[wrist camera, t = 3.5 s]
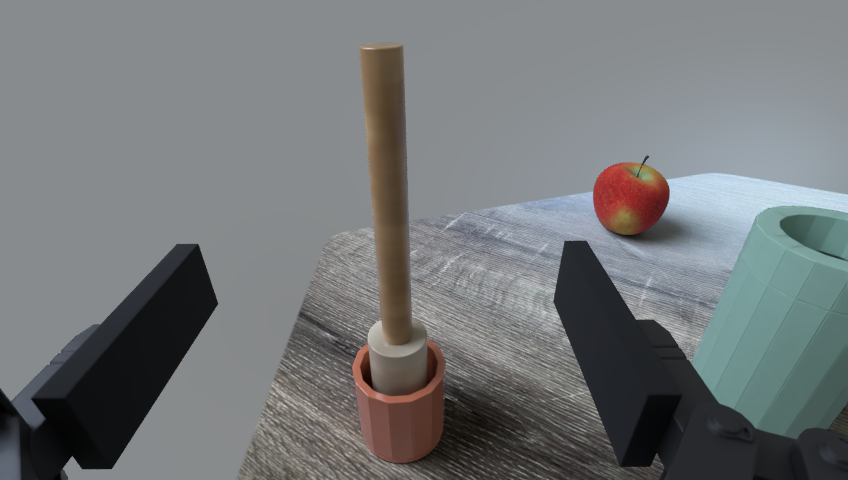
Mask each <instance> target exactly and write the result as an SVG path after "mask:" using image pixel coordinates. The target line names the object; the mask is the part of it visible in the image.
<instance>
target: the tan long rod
mask: <svg viewBox="0 0 848 480" xmlns="http://www.w3.org/2000/svg"><path fill="white" fill-rule="evenodd" d="M359 51H360V64H361V76H362V88H363V101H364V113H365V126H366V138H367V150H368V162H369V174H370V186H371V200H372V212H373V223H374V237H375V249H376V261H377V274H378V286H379V298H380V311H381V320H380V321H378V322H377V323H375V324H374V325H373V326H372V328H371V329H370V331H369V333H368V348H369V357H370V366H371V376H372V385H373V391H376V392H379V393H382V394H385V395H388V396H404V395H411V394H413V393H415V392H417V391H419V390H421V389H424V388H426V387H427V385H428V361H427V331H426V329H425V327H424V325H423V324H422V323H421V322H419V321H418V320H416V319H414V318H412V306H411V274H410V243H409V214H408V213H409V212H408V181H407V151H406V150H407V149H406V119H405V88H404V56H403V45H402V44H399V43H368V44H363V45H360V47H359Z"/></svg>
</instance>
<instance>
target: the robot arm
mask: <svg viewBox="0 0 848 480" xmlns="http://www.w3.org/2000/svg"><path fill="white" fill-rule="evenodd" d="M553 302H554V304H555V307H556V309H557V311H558V314H559V316H560V319H561V321H562V324H563V326H564V329H565V331H566V334H567V336H568V339H569V341H570V344H571V346H572V348H573V351H574V353H575V356H576V358H577V361H578V363H579V366H580V368H581V371H582V373H583V376H584V378H585V381H586V383H587V385H588V388H589V390H590V393H591V395H592V398H593V400H594V403H595V405H596V408H597V410H598V413H599V415H600V418H601V420H602V422H603V425H604V427H605V430H606V432H607V435H608V437H609V440H610V442H611V445H612V447H613V450H614V452H615V455H616V457H617V460H618V462H619V464H620V467H650V466H651V464H652V462H653V459H654V457H655V455H656V453H657V454H658V456H659V458H660V460H661V462H662V464H663V466H664V470H663V472H662V474H661V476H660V478H659V480H848V438H846V437H845V436H842V435H840V434H838V433H835V432H833V431H831V430H826V429H821V428H809V429H805V430H804V431H803V432H802V433H801V434H800V435H799V436H798V438H797V439H793V438H789V437H786V436H782V435H778V434H774V433H770V432H766V431H762V430H759V429H756V428H754V426H753V424H752V423H751V422H750V421H749V420H748V419H746V418H745V417H744V416H743V415H742V414H741V413H739V412H737V411H736V410H734V409H732V408H731V407H728V406H725V405H722V404H719V402H718V401H717V400H716V398H715V397H714V395H713V394H712V393H711V391H710V390H709V388H708V387H707V385H706V384H705V383H704V381H703V380H702V378H701V377H700V375H699V374H698V373H697V371H696V370H695V368H694V367H693V366H692V364H691V363H690V361H689V360H687V359H686V356H685V354H684V353H683V351H682V350H681V348H679V347H678V344H677V343H676V341H675V340H674V338H673V337H672V336H671V334H670V333H669V331H667V330H666V329H665V328H663V327H662V326H661V325H660V324H658V323H657V322H656V321H654V320H636V319H635V318H634V316H633V314H632V313H631V311H630V310H629V308H628V306H627V305H626V303H625V302H624V300H623V298H622V297H621V295H620V294H619V292H618V291H617V289H616V287H615V286H614V284H613V283H612V281H611V279H610V278H609V276H608V275H607V273H606V271H605V270H604V268H603V267H602V265H601V263H600V262H599V260H598V259H597V257H596V256H595V254H594V252H593V251H592V249H591V248H590V246H589V244H588V243H587V241H565V242H564V248H563V253H562V258H561V264H560V269H559V274H558V280H557V285H556V290H555V296H554V301H553ZM217 305H218V302H217V299H216V296H215V293H214V290H213V287H212V284H211V281H210V278H209V275H208V272H207V269H206V266H205V263H204V260H203V257H202V254H201V251H200V248H199V245H198V244H177V245H176V246H175V247H174V248H173V249H172V250H171V251H170V252H169V253H168V254H167V255H166V256H165V257H164V258H163V259H162V260H161V262H160V263H159V264H158V265H157V266H156V267H155V268H154V269H153V270H152V271H151V272H150V273H149V274H148V275H147V276H146V277H145V278H144V279H143V280H142V282H141V283H140V284H139V285H138V286H137V287H136V288H135V289H134V290H133V291H132V292H131V293H130V294H129V295H128V296H127V297H126V298H125V299H124V300H123V302H122V303H121V304H120V305H119V306H118V307H117V308H116V309H115V310H114V311H113V312H112V313H111V314H110V315H109V316H108V317H107V318H106V319H105V321H104V322H103V323H102V324H100V325H98V324H97V325H92V326H91V327H89V328H88V329H86V330H85V331H83V332H82V333H80V334H79V335H77V336H75V337H74V339H72V340H71V341H70V342H69V343H68V344H67V345H66V346H65V347H64V348H63V349H62V351H61V353H59V354H58V355H56V356H55V358H54V359H53V360H52V361H51V362H50V365H47V366H46V367H45V368H44V369H43V370H42V371H41V372H40V373H39V374H38V375H37V376H36V377H35V378H34V379H33V380H32V381H31V382H30V383H29V384H28V385H27V386H26V387H25V388H24V389H23V390H22V391H21V392H20V393H19V394H18V395H17V396H16V397H15V398H14V399H13V400H12V401H10V400H9V399H8V398H7V397H6V395H5V394H4V392H3V391H2V390H1V389H0V480H68V477H67V475H66V473H65V471H64V470H63V467H64V466H65V465H66V463H67V462H68V461H69V459H70V458H71V457H72V456H73V457H74V459H75V460H76V461H77V463H78V464H79V465H80V467H81V468H82V469H112V468H113V466H114V465H115V463H116V462H117V460H118V459H119V457H120V456H121V454H122V452H123V451H124V449H125V448H126V446H127V445H128V443H129V442H130V440H131V438H132V437H133V435H134V434H135V432H136V431H137V429H138V428H139V426H140V424H141V423H142V421H143V420H144V418H145V417H146V415H147V414H148V412H149V410H150V409H151V407H152V406H153V404H154V403H155V401H156V400H157V398H158V397H159V395H160V393H161V392H162V390H163V389H164V387H165V386H166V384H167V383H168V381H169V379H170V378H171V376H172V375H173V373H174V372H175V370H176V369H177V367H178V365H179V364H180V362H181V361H182V359H183V358H184V356H185V354H186V353H187V351H188V350H189V348H190V347H191V345H192V344H193V342H194V341H195V339H196V337H197V336H198V334H199V333H200V331H201V330H202V328H203V327H204V325H205V323H206V322H207V320H208V319H209V317H210V316H211V314H212V313H213V311H214V310H215V308H216V306H217Z"/></svg>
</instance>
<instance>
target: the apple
mask: <svg viewBox="0 0 848 480" xmlns="http://www.w3.org/2000/svg"><path fill="white" fill-rule="evenodd" d="M647 158H649V156H646V157H645V159H644V161H643V163H642V164H639V163H619V164H615V165H612V166H610V167H608V168H607V169H605V170H604V171H603V172H602V173H601V174H600V175H599V177H598V178H597V180H596V183H595V186H594V191H593V202H594V208H595V212H596V215H597V217H598V219H599V221H600V222H601V223H602V225H603V226H604V227H606V228H607V229H609V230H610V231H613V232H615V233H618V234H624V235H633V234H638V233H641V232H643V231H645V230H647V229H649V228H650V227H651V226H653V225H654V224H655V223H656V222H657V221H658V220H659V219H660V217H661V216H662V214H663V213H664V211H665V209H666V207H667V204H668V201H669V193H670V190H669V186H668V183H667V181H666V180H665V178H664V177H663V176H662V175H661V174H660V173H659V172H658V171H656V170H655V169H653V168H652V167H650V166H647V165H644V163H645V161H646V160H647Z"/></svg>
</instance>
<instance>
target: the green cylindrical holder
mask: <svg viewBox="0 0 848 480" xmlns="http://www.w3.org/2000/svg"><path fill="white" fill-rule="evenodd" d="M692 366H693V367H694V368H695V370H696V371H697V373H698V374H699V375H700V377H701V378H702V380H703V381H704V383H705V384H706V385H707V387H708V388H709V390H710V391H711V393H712V394H713V395H714V397H715V398H716V400H717V401H718V402H719V404H722V405H725V406H728V407H731V408H732V409H734V410H736V411H737V412H739V413H741V414H742V415H743V416H744V417H745V418H746V419H748V420H749V421H750V422H751V423H752V424H753V426H754V428H756V429H759V430H762V431H766V432H770V433H774V434H778V435H782V436H786V437H789V438H793V439H797V438H798V436H799V435H800V434H801V433H802V432H803V431H804V430H805V429H809V428H821V429H826V430H827V429H828V428H829V427H830V425H831V424H832V423H833V421H834V420H835V419H836V417H837V416H838V415H839V414H840V412H841V411H842V410H843V408H844V407H845V406H846V404H847V403H848V213H844V212H840V211H834V210H828V209H821V208H814V207H805V206H780V207H774V208H768V209H766V210H764V211H763V212H761V213H760V214H758V215H757V216H756V218H755V221H754V223H753V225H752V227H751V230H750V232H749V234H748V236H747V239H746V241H745V243H744V245H743V248H742V250H741V252H740V254H739V257H738V259H737V261H736V263H735V266H734V268H733V270H732V272H731V275H730V277H729V279H728V281H727V284H726V286H725V288H724V290H723V293H722V295H721V297H720V299H719V302H718V304H717V306H716V308H715V311H714V313H713V315H712V317H711V320H710V322H709V324H708V326H707V329H706V331H705V333H704V335H703V338H702V340H701V342H700V344H699V347H698V349H697V351H696V353H695V356H694V358H693V360H692Z"/></svg>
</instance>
